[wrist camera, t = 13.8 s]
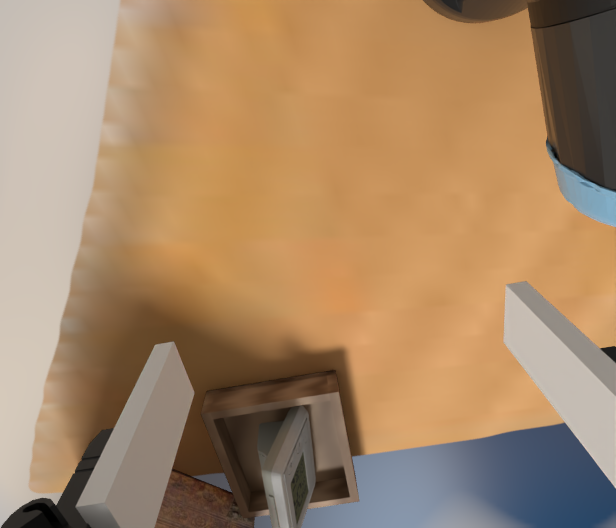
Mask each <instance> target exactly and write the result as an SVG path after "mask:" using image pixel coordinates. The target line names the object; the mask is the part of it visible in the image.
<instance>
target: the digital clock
mask: <svg viewBox="0 0 616 528" xmlns="http://www.w3.org/2000/svg"><path fill="white" fill-rule="evenodd" d="M257 449H258V454H259V459H260V464H261V469H262V477H263V483H264V488H265V493H266V499H267V504H268V509H269V514H270V519H271V523H272V528H301V526H302V523H303V520H304V517H305V514H306V511H307V508H308V505H309V502H310V499H311V496H312V493H313V490H314V487H315V482H316V476H315V466H314V457H313V448H312V439H311V430H310V421H309V414H308V411H307V410H306V409H305V407H304V406H303V405H300V406H294V407H292V408H290V410H289V411H288V413H287V416H286V418H285V420H284V421H278V422H267V423H261V424H259V431H258V442H257Z"/></svg>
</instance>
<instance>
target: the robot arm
mask: <svg viewBox="0 0 616 528" xmlns="http://www.w3.org/2000/svg"><path fill="white" fill-rule="evenodd" d="M423 1H424V2H425V3H426V4H427V5H428V6H429V7H431V8H432V9H433V10H434V11H436V12H437V13H439V14H441V15H443V16H445V17H447V18H449V19H452V20H455V21H459V22H464V23H483V22H489V21H493V20H497V19H502V18H505V17H508V16H511V15H514V14H516V13H518V12H520V11H522V10H524V9H526V8H528V11H529V17H530V23H531V31H532V38H533V44H534V51H535V58H536V64H537V71H538V77H539V84H540V90H541V97H542V103H543V110H544V116H545V123H546V130H547V140H546V147H547V152H548V154H549V156H550V158H551V159H552V161H553V163H554V167H555V172H556V176H557V181H558V185H559V188H560V191H561V192H562V194H563V196H564V198H565V199H566V200H567V201H569V202H570V203H572V204H573V206H574V207H575V208H576V209H577V210H578V211H579V212H581V213H582V214H584V215H586V216H588V217H590V218H592V219H594V220H596V221H599V222H601V223H604V224H607V225H610V226H614V227H616V0H423ZM504 343H505V345H506V346H507V347H508V349H509V350H510V351H511V353H512V354H513V355H514V356H515V358H516V359H517V360H518V362H519V363H520V364H521V366H522V367H523V368H524V369H525V371H526V372H527V373H528V375H529V376H530V377H531V379H532V380H533V381H534V382H535V384H536V385H537V386H538V388H539V389H540V390H541V392H542V393H543V394H544V395H545V397H546V398H547V399H548V401H549V402H550V403H551V405H552V406H553V407H554V409H555V410H556V411H557V412H558V414H559V415H560V416H561V418H562V419H563V420H564V422H565V423H566V424H567V425H568V426H569V428H570V429H571V431H572V432H573V433H574V435H575V436H576V437H577V438H578V440H579V441H580V442H581V444H582V445H583V446H584V448H585V449H586V450H587V451H588V453H589V454H590V455H591V457H592V458H593V459H594V461H595V462H596V463H597V464H598V466H599V467H600V468H601V470H602V471H603V472H604V474H605V475H606V476H607V477H608V479H609V480H610V481H611V482H612V484H613V485H614V486H615V488H616V347H615V346H612V347H606V348H599V347H597V346H596V345H595V344H594V343H593V342H592V341H591V340H590V339H589V338H588V337H586V336H585V335H584V334H583V333H582V332H581V331H580V330H579V329H578V328H577V327H576V326H574V325H573V324H572V323H571V322H570V321H569V320H568V319H567V318H566V317H565V316H564V315H562V314H561V313H560V312H559V311H558V310H557V309H556V308H555V307H554V306H553V305H552V304H550V303H549V302H548V301H547V300H546V299H545V298H544V297H543V296H542V295H541V294H540V293H538V292H537V291H536V290H535V289H534V288H533V287H532V286H531V285H530V284H529V283H527V282H526V281H525V282H519V283H513V284H507V285H506V295H505V319H504ZM193 397H194V390H193V388H192V385H191V383H190V380H189V378H188V375H187V373H186V370H185V368H184V365H183V363H182V360H181V358H180V355H179V353H178V350H177V348H176V345H175V343H174V341H173V342H168V343H162V344H156V345H155V346H154V348H153V350H152V352H151V354H150V356H149V358H148V360H147V362H146V365H145V367H144V369H143V371H142V373H141V375H140V377H139V379H138V381H137V383H136V385H135V387H134V389H133V391H132V393H131V395H130V397H129V399H128V401H127V403H126V405H125V407H124V409H123V411H122V413H121V415H120V417H119V419H118V421H117V423H116V425H115V427H114V428H112V429H106V430H102V431H101V432H100V433H99V434H98V435H97V436H96V437H95V438H94V439H93V441H92V442H91V443H90V444H89V446H88V447H87V449H86V451H85V453H84V455H83V457H82V461H80V462H79V464H78V466H77V468H76V470H75V474H73V475H72V477H71V479H70V481H69V483H68V485H67V486H66V488H65V490H64V492H63V494H62V496H61V498H60V500H59V501H58V503H57V505H55V504H54V503H53V501H52V500H51V499H47V498H40V499H36V500H32V501H31V502H29V503H27V504H25V505H23V506H22V507H20V508H19V509H18V510H17V511H16V512H14V513H13V514H12V515H11V516H10V517H9V518H8V519H7V520H6V521H5V523H4V524H3V525H2V527H1V528H154V527H155V524H156V521H157V517H158V514H159V510H160V507H161V504H162V500H163V497H164V494H165V490H166V487H167V484H168V480H169V477H170V474H171V470H172V467H173V464H174V460H175V457H176V454H177V450H178V447H179V444H180V440H181V437H182V434H183V430H184V427H185V423H186V420H187V417H188V413H189V410H190V407H191V403H192V400H193Z"/></svg>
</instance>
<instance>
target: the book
mask: <svg viewBox="0 0 616 528" xmlns="http://www.w3.org/2000/svg"><path fill="white" fill-rule="evenodd" d="M254 520H255V517H250V518H244V519H243V518H242V515H241V513H240V510H239V508H238V505H237V503H236V500H235V498H234V495H233V493H231V492H228V491H226V490H224V489H221V488H219V487H216V486H214V485H211V484H209V483H206V482H204V481H201V480H199V479H196V478H194V477H191V476H189V475H186V474H184V473H181V472H179V471H176V470H173V469H172V470H171V474H170V477H169V480H168V484H167V487H166V490H165V494H164V497H163V500H162V504H161V507H160V510H159V514H158V517H157V521H156V524H155V527H154V528H254Z"/></svg>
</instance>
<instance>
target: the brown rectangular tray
mask: <svg viewBox="0 0 616 528" xmlns="http://www.w3.org/2000/svg"><path fill="white" fill-rule="evenodd" d="M300 405H303V406H304V407H305V409H306V410H307V411H308V414H309V421H310V430H311V439H312V448H313V457H314V466H315V476H316V482H315V487H314V490H313V493H312V496H311V499H310V502H309V505H308V508H307V509H311V508H318V507H324V506H331V505H338V504H344V503H351V502H358V501H359V496H358V490H357V483H356V477H355V471H354V466H353V461H352V455H351V450H350V445H349V440H348V434H347V429H346V424H345V418H344V413H343V408H342V403H341V397H340V392H339V387H338V381H337V376H336V371H335V370H333V371H326V372H320V373H314V374H308V375H302V376H296V377H290V378H284V379H278V380H271V381H265V382H259V383H253V384H247V385H241V386H235V387H229V388H223V389H216V390H210V391H207V392H206V396H205V400H204V404H203V408H202V411H201V416H202V418H203V421H204V423H205V426H206V428H207V431H208V433H209V436H210V438H211V441H212V443H213V446H214V448H215V451H216V453H217V456H218V458H219V461H220V463H221V466H222V468H223V471H224V473H225V475H226V478H227V480H228V483H229V485H230V488H231V490H232V493H233V495H234V498H235V500H236V503H237V505H238V508H239V510H240V513H241V515H242V518H243V519H244V518H250V517H257V516H263V515H270V514H269V509H268V504H267V499H266V493H265V488H264V483H263V477H262V469H261V464H260V459H259V454H258V449H257V442H258V431H259V424H261V423H267V422H278V421H284V420H285V418H286V416H287V413H288V411H289V410H290V408H292V407H294V406H300Z"/></svg>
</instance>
